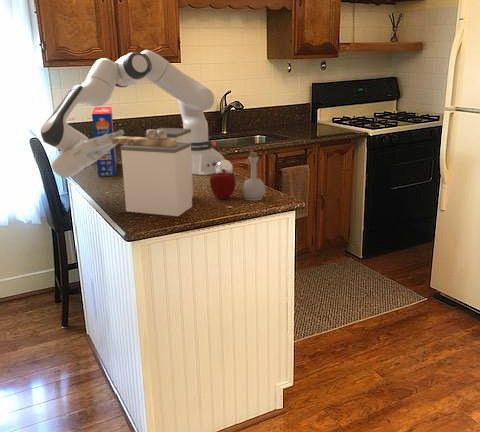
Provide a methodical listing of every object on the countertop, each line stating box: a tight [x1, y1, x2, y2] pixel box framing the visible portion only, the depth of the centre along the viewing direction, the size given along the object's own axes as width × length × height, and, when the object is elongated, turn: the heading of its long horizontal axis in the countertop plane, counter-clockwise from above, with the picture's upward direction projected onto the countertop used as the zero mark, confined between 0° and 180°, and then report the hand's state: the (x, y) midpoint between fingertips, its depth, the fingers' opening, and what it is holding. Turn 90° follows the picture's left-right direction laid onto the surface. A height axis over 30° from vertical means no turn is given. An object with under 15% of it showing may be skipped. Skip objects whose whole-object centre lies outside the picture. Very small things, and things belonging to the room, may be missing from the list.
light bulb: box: [215, 159, 234, 174], centre depth 210 cm, size 7×7×12 cm
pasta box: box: [91, 106, 117, 177], centre depth 245 cm, size 28×8×28 cm, turn 13°
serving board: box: [112, 128, 176, 147], centre depth 180 cm, size 22×6×5 cm, turn 71°
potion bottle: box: [241, 150, 267, 202], centre depth 195 cm, size 9×9×18 cm
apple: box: [209, 172, 236, 200], centre depth 197 cm, size 10×10×10 cm
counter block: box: [119, 127, 194, 217], centre depth 188 cm, size 20×24×26 cm
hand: (115, 133), depth 183 cm, fingers open, 8 cm apart
